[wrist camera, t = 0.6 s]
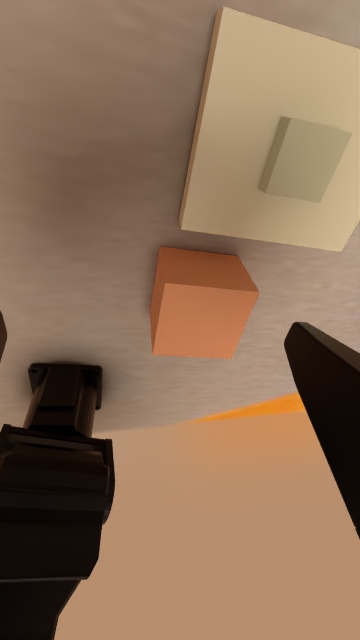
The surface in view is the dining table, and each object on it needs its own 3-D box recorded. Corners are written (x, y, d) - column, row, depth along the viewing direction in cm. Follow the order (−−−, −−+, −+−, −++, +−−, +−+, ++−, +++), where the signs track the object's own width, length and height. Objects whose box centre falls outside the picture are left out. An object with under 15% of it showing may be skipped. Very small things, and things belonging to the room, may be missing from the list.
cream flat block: (330, 243, 22) (350, 259, 20) (178, 220, 20) (183, 237, 18) (420, 75, 16) (462, 73, 14) (216, 13, 14) (230, -1, 12)
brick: (217, 317, 25) (231, 358, 22) (149, 312, 24) (152, 354, 20) (237, 256, 22) (259, 292, 18) (159, 246, 21) (165, 282, 17)
